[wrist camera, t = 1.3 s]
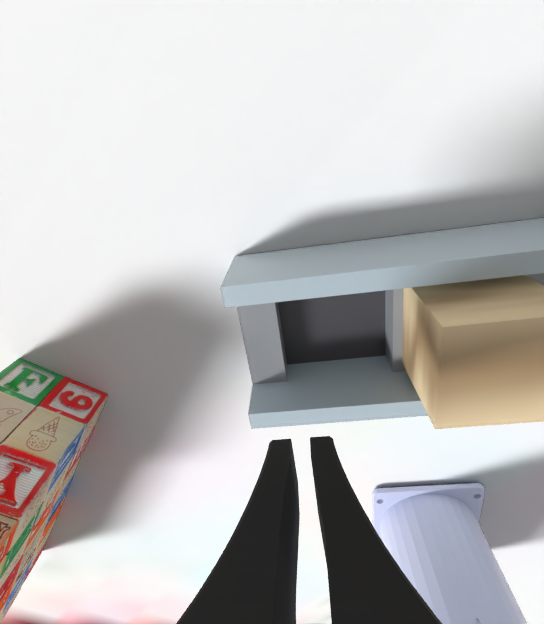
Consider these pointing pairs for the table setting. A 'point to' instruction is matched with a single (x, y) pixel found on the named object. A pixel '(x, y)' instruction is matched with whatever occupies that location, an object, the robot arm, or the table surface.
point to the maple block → (476, 350)
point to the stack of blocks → (37, 461)
